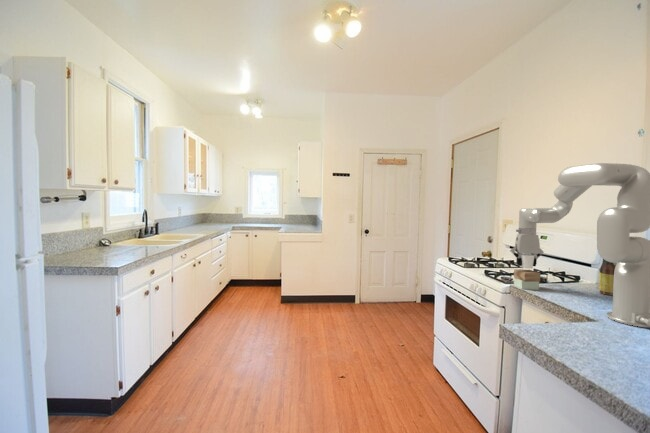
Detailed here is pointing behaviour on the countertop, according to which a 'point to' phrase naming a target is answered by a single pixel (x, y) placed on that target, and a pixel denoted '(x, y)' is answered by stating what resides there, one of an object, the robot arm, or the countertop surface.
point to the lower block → (526, 284)
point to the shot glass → (527, 260)
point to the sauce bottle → (606, 277)
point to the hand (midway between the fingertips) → (526, 265)
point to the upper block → (527, 275)
